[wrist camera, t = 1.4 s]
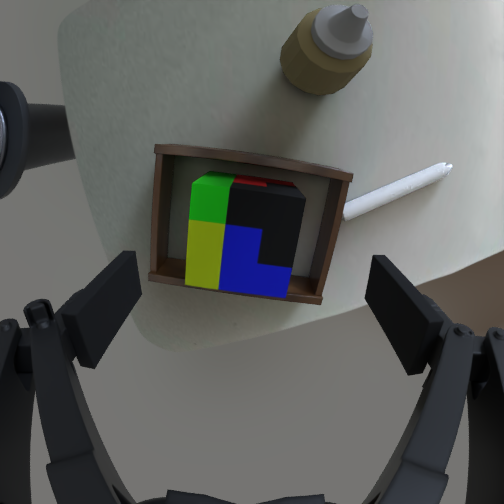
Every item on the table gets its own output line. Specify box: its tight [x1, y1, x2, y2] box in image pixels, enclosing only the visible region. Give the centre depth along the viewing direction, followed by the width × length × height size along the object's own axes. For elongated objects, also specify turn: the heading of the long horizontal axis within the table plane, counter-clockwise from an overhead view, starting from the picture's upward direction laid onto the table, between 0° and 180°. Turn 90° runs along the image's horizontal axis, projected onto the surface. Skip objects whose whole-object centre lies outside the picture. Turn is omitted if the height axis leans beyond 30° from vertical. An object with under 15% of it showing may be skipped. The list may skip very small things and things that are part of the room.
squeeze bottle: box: [280, 4, 373, 95], centre depth 21 cm, size 8×8×18 cm
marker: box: [342, 163, 453, 221], centre depth 33 cm, size 18×2×2 cm, turn 115°
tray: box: [148, 144, 353, 305], centre depth 34 cm, size 21×16×6 cm
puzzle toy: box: [185, 171, 306, 298], centre depth 32 cm, size 10×10×10 cm
